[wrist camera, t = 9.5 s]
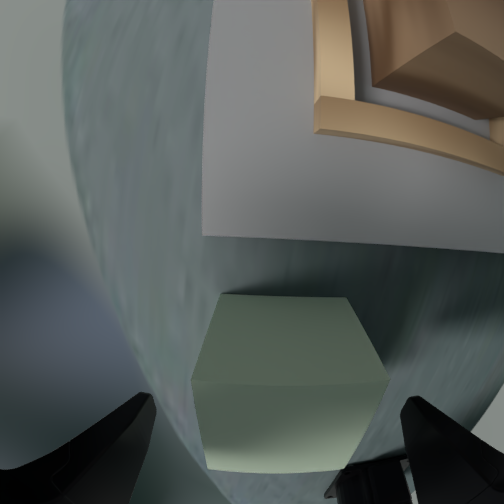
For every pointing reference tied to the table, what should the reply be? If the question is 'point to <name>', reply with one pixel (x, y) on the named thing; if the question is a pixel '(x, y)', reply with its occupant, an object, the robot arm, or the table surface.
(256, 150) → the baseplate
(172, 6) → the table surface
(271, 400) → the sage block
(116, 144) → the table surface
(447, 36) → the walnut block
